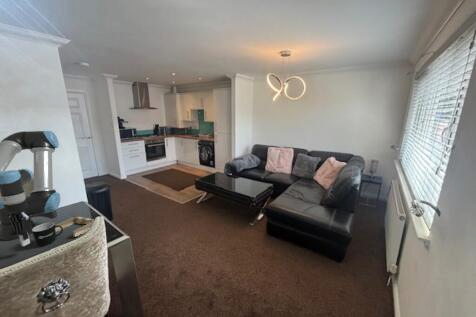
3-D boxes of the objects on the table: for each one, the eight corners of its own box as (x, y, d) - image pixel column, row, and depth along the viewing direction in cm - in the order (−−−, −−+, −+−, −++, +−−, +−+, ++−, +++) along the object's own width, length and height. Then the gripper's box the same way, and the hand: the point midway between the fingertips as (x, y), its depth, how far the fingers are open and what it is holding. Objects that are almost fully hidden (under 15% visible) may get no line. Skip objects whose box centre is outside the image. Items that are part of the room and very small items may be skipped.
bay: (52, 233, 119) (50, 227, 119) (75, 221, 133) (74, 216, 132) (75, 238, 115) (74, 232, 114) (97, 225, 128) (96, 219, 127)
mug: (36, 250, 104) (32, 233, 102) (35, 243, 110) (31, 227, 108) (66, 239, 113) (62, 224, 111) (63, 233, 119) (59, 218, 117)
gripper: (-5, 203, 94) (7, 246, 99) (13, 206, 91) (25, 251, 96) (16, 197, 101) (26, 238, 106) (33, 200, 98) (43, 242, 103)
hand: (25, 244), depth 101 cm, fingers closed
